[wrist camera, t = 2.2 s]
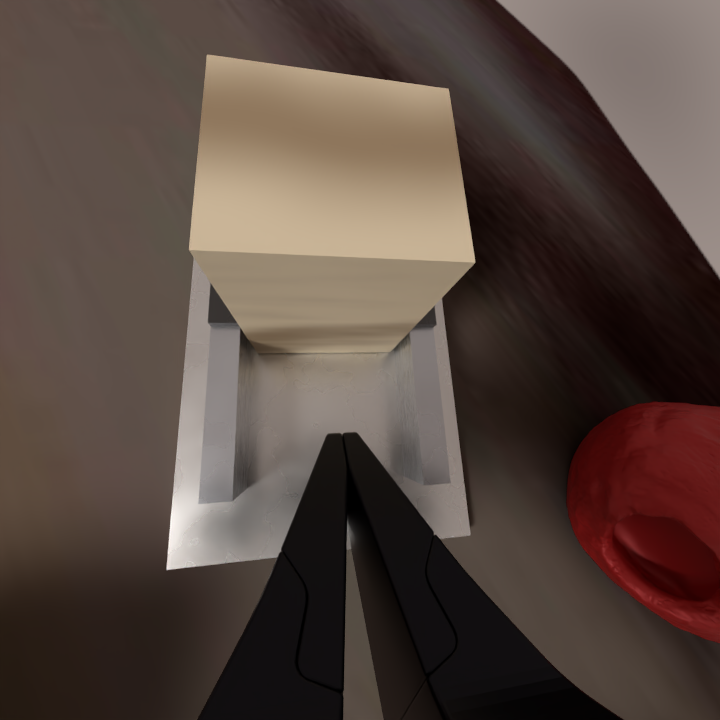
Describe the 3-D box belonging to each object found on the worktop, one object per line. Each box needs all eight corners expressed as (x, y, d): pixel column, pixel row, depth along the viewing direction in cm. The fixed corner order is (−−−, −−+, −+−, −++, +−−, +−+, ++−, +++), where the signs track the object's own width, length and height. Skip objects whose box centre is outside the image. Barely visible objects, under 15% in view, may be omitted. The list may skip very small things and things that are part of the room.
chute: (464, 531, 16) (511, 561, 12) (172, 564, 13) (120, 612, 10) (417, 133, 22) (439, 73, 18) (210, 110, 19) (187, 35, 16)
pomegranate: (573, 377, 19) (805, 327, 10) (705, 466, 19) (1056, 495, 10) (511, 527, 16) (756, 640, 7) (666, 632, 16) (1104, 875, 7)
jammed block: (390, 352, 17) (475, 262, 8) (257, 353, 15) (189, 250, 7) (382, 255, 18) (448, 88, 9) (260, 249, 17) (207, 54, 8)
